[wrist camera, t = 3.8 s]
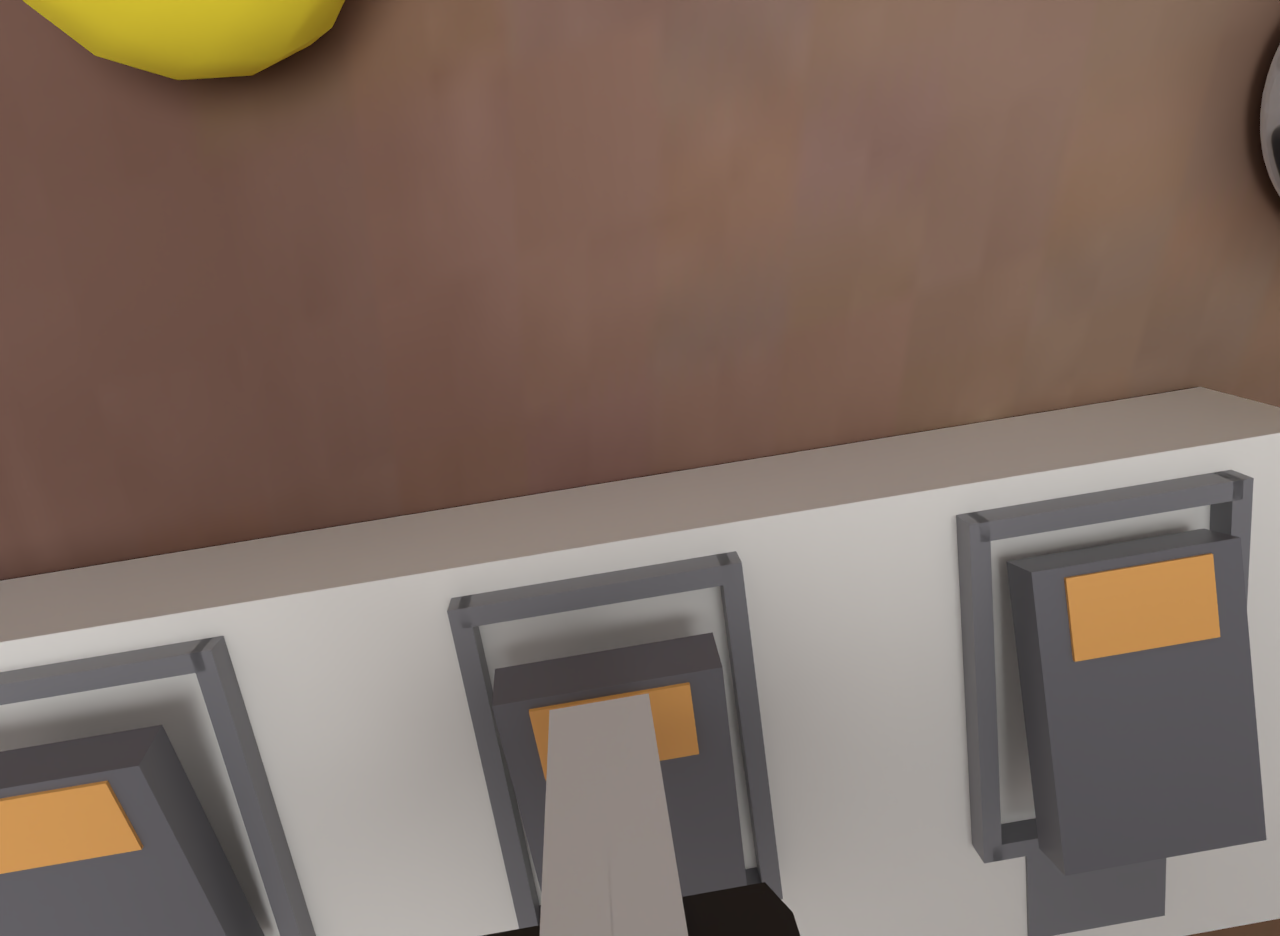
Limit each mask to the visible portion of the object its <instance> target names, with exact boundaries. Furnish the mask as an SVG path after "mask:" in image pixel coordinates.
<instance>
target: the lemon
mask: <svg viewBox="0 0 1280 936" xmlns="http://www.w3.org/2000/svg"><path fill="white" fill-rule="evenodd" d="M23 1H24V2H25V3H26V4H28V5H29V6H30V7H32V8H33V9H34V10H36V11H37V12H38V13H40V14H41V15H42V16H44V17H45V18H46V19H48V20H49V21H50V22H52V23H53V24H54V25H55V26H57V27H58V28H59V29H61V30H62V31H63V32H65V33H66V34H67V35H69V36H70V37H71V38H73V39H74V40H75V41H77V42H78V43H79V44H81V45H82V46H83V47H84V48H86V49H87V50H88V51H90V52H91V53H92V54H94V55H95V56H98V57H101V58H105V59H108V60H112V61H115V62H118V63H122V64H125V65H128V66H132V67H135V68H138V69H142V70H145V71H148V72H152V73H155V74H159V75H162V76H165V77H169V78H172V79H175V80H188V79H204V78H220V77H236V76H252V75H254V74H256V73H258V72H260V71H262V70H264V69H266V68H268V67H270V66H272V65H273V64H275V63H277V62H279V61H281V60H283V59H285V58H287V57H289V56H291V55H293V54H294V53H296V52H298V51H300V50H302V49H304V48H306V47H308V46H310V45H311V44H312V43H314V42H315V41H316V40H317V39H318V38H320V37H321V36H322V35H323V34H325V33H326V32H327V31H328V30H330V29H331V28H332V27H333V25H334V23H335V21H336V18H337V16H338V14H339V12H340V10H341V8H342V6H343V4H344V1H345V0H23Z"/></svg>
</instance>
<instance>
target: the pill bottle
mask: <svg viewBox="0 0 1280 936" xmlns="http://www.w3.org/2000/svg"><path fill="white" fill-rule="evenodd" d="M1260 137H1261V146H1262V153H1263V158H1264V162H1265V165H1266V168H1267V171H1268V174H1269V177H1270V179H1271V181H1272V183H1273V186H1274V188H1275V190H1276V191H1277V193H1278V195H1279V196H1280V44H1279V46H1278V49H1277V51H1276V53H1275V56H1274V58H1273V60H1272V63H1271V66H1270V69H1269V72H1268V75H1267V79H1266V83H1265V87H1264V91H1263V95H1262V103H1261V112H1260Z"/></svg>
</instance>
